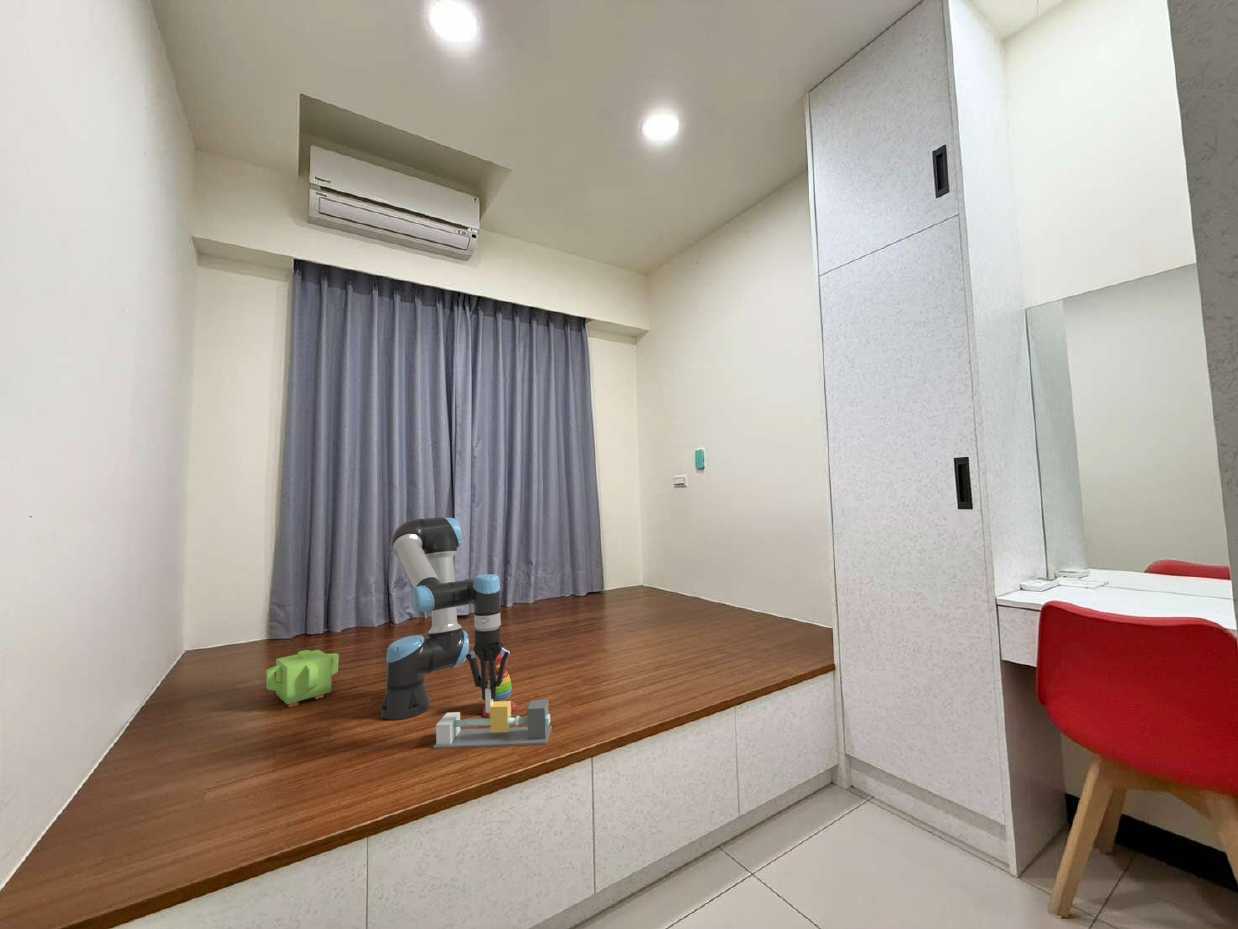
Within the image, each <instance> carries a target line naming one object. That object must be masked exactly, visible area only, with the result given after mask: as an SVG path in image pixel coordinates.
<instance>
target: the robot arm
mask: <svg viewBox="0 0 1238 929" xmlns="http://www.w3.org/2000/svg"><path fill="white" fill-rule="evenodd" d="M462 540H463V533H462V529H461V526H460V523H459V522H458V520H457V519H455V518H453V517H444V516H443V517H431V518H428V517H427V518H412V519H409V520H406V521H405V522H403V523H402V524H400V525H399V526H398V527H397V528H396V529H395V531H394V532H393V534H392V536H391V540H390V545H391V549H392V552H393V554H394V556H396V557H397V558H399V560H400V561H401V564H402V566H403V567H404V571H405V572H406V575H407V577H408V580H409V581H410V583H411V585H412V587H413V588H411V589H412V590H410V604H411V609H412V611H413V612H415V613H428V612H431V628H430V629H429V630H428V632H427V636H428V637H427V638H424V636H423V635H421V634H415V635H409V636H406V637H402V638H399V639H397V640H395V641H394V642H392V643H391V644H389V645H388V647H387V650H386V659H385V661H386V693H385V696H384V698H383V702H382V705H381V708H380V709H381V710H380V711H381V713H380V715H381V718H382V719H385V720H390V721H391V720H393V721H395V720H404V719H405V720H406V719H409V718H413V717H416V716H418V715H421V714H423V713H424V712H427V710H429V709H430V706H431V697H430V695H429V692H428V689H427V687H426V684H425V675H427V674H431V673H435V672H440V671H442V670H446V669H453V668H455V667H458V666H461V665H463V664H464V663H465V661H466V660H467V661H468V663H469V665H470V670H471V674H472V677H473V678H472V679H473V681H474V682H473V683H474V686H475V687H476V688H478V687H479V688H480V689H481V699H482V700H483V701H484V703H485V704H484V705H485V706H486V713H489V712H490V707H491V705H492V704H493V699H495V698H496V687H497V686H500V684H501V683H502V681H503V676H504V671H505V666H506V661H507V662H508V658H509V656H510V654H511V650H510V649H505V648H504V646H503V643H502V630H501V627H500V626H501V624H502V622H501V585H500V584H501V583H500V577H499V576H498V575H497V574H492V573H487V574H479V575H476V576H475V577H468V578H464V579H463V580H456V581H455V567H454V556H455V555H456V554H457V552H458V548H460V547H461V545H462V543H463V542H462ZM468 605H473V611H474V612H473V618H474V619H473V620H474V622H473V623H474V625H473V626H474V629H475V630H474V646H473V648H472V650H471V651H469V650H470V639H469V635H468V633H467V631H465V630H463V627H462V626H461V624H460V623H458V616H457V615H458V614H457V607H462V606H468ZM499 654H501V657H502V659H501V663H500V668H499V672H498V677H497V681H496V658H497V656H498V655H499ZM476 656H477V657H478V659H479V661H480V663H479V664H480V669H479V666H478V662H477V659H476ZM488 661H489V665H490V686H487V685H488V684H489V683H488V672H489V671H488V666H487V662H488Z"/></svg>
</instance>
